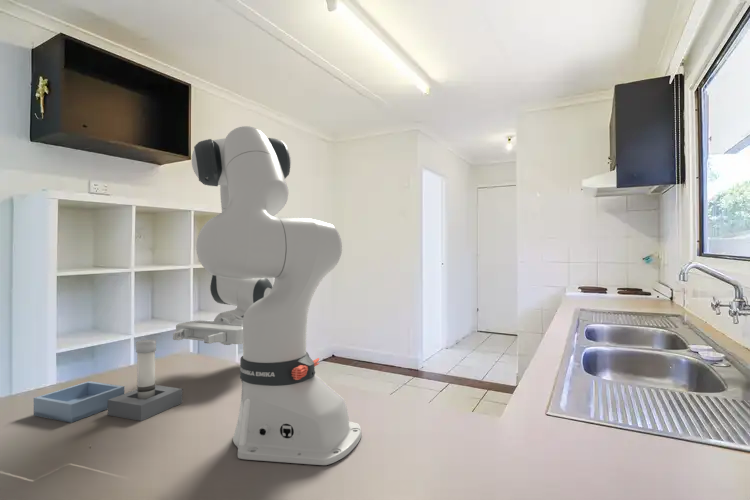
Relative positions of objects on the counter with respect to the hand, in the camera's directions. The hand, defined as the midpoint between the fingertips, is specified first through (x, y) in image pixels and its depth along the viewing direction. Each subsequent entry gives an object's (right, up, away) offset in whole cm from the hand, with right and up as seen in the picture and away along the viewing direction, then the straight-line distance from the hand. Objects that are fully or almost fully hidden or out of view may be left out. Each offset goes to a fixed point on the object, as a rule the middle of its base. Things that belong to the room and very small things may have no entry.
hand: (190, 338), depth 95 cm
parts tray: (-18, -12, -12) cm, 24 cm away
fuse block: (-4, -12, -12) cm, 17 cm away
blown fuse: (-4, -12, -12) cm, 17 cm away
